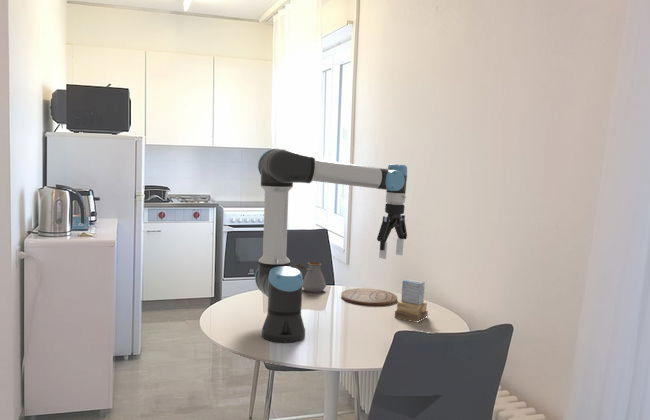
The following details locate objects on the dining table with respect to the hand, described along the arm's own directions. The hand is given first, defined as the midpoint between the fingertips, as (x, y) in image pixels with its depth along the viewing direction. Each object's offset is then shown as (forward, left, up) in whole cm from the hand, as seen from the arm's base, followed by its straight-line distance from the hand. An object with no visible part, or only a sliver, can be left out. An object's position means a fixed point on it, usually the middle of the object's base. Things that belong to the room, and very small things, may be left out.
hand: (391, 256), depth 226 cm
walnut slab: (+5, -8, -25) cm, 27 cm away
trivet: (+19, +19, -25) cm, 37 cm away
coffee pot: (+8, +46, -25) cm, 52 cm away
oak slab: (+5, -8, -22) cm, 24 cm away
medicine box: (+5, -8, -18) cm, 21 cm away
